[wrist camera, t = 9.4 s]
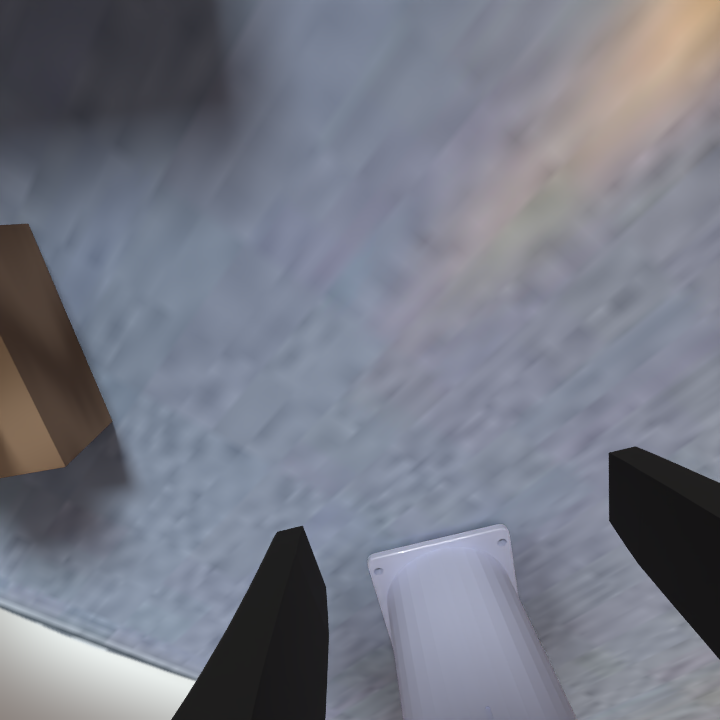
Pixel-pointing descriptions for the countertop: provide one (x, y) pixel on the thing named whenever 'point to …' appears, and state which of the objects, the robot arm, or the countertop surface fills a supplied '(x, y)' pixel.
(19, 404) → the walnut block
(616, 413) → the countertop surface
